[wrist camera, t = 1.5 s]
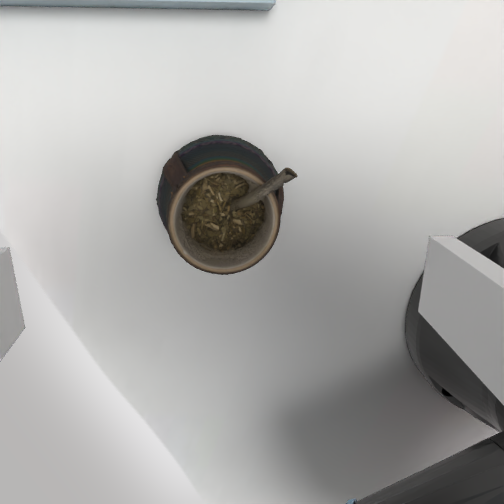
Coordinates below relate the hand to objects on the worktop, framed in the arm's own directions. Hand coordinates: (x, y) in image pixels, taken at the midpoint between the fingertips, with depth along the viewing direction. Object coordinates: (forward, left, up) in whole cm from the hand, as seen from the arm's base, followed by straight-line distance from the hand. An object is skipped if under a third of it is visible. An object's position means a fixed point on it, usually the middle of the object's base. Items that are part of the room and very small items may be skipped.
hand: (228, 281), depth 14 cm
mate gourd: (0, 0, -16) cm, 16 cm away
